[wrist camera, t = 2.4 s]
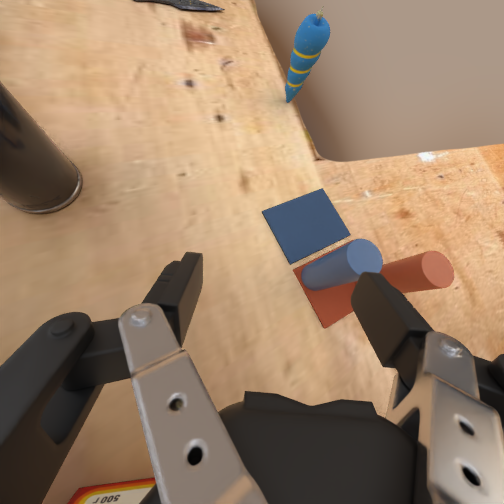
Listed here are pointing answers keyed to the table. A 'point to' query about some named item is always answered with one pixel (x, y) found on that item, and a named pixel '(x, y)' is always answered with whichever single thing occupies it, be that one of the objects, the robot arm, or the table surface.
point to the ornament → (306, 51)
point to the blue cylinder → (342, 265)
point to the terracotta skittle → (419, 272)
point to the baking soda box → (114, 493)
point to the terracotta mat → (329, 298)
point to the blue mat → (305, 225)
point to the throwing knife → (188, 4)
